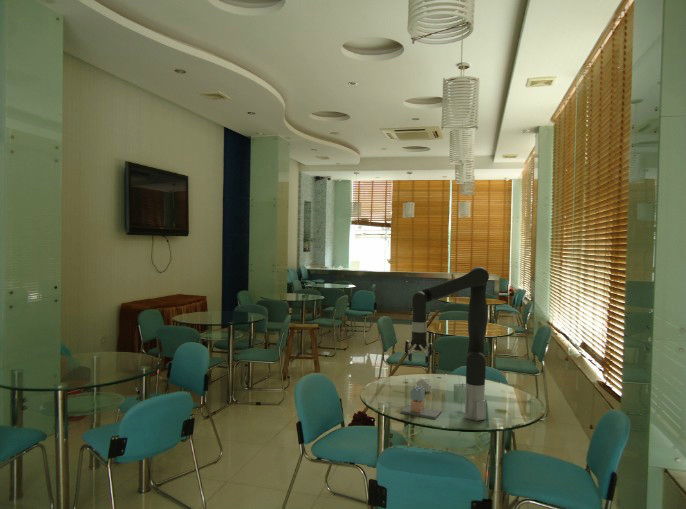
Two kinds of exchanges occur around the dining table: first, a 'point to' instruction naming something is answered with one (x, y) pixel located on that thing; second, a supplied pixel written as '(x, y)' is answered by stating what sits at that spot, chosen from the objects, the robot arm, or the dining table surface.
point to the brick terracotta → (417, 406)
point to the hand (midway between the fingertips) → (418, 362)
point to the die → (424, 383)
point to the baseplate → (425, 413)
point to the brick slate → (418, 393)
